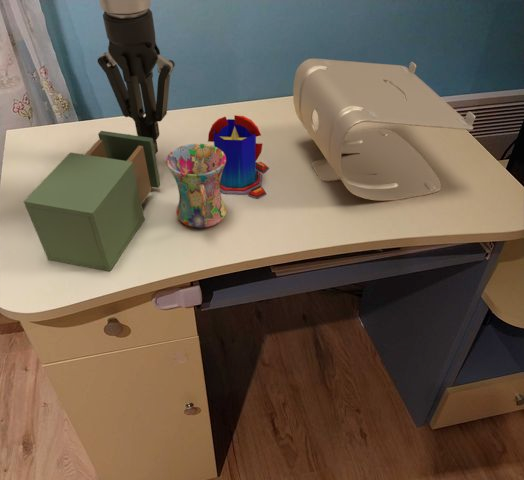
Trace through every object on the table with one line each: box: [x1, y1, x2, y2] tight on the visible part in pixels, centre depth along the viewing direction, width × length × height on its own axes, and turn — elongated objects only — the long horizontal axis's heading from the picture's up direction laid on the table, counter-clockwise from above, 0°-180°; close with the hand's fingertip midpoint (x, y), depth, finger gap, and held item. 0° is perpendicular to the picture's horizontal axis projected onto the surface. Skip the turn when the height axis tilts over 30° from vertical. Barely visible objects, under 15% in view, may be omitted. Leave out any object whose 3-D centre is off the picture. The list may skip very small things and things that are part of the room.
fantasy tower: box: [207, 114, 270, 200], centre depth 88 cm, size 12×12×12 cm
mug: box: [165, 143, 227, 228], centre depth 80 cm, size 12×9×11 cm
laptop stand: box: [292, 57, 476, 202], centre depth 90 cm, size 26×24×16 cm
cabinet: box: [23, 152, 146, 272], centre depth 77 cm, size 14×11×11 cm
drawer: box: [84, 130, 161, 205], centre depth 84 cm, size 17×9×9 cm, turn 166°
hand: (151, 153), depth 94 cm, fingers closed
